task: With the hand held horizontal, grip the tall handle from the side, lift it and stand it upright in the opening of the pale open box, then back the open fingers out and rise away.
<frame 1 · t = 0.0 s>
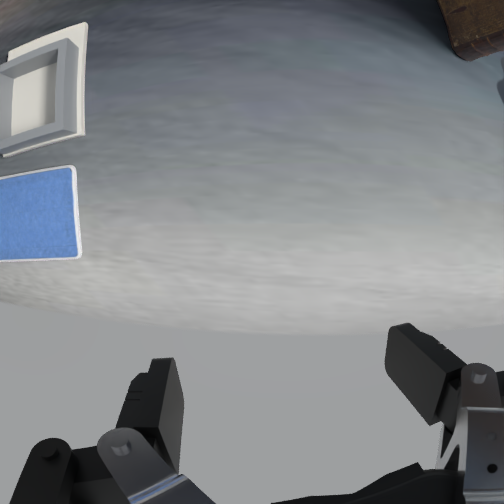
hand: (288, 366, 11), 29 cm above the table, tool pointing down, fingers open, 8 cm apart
book: (450, 20, 34), on the table
tablet computer: (25, 216, 36), on the table
open box: (43, 89, 31), on the table
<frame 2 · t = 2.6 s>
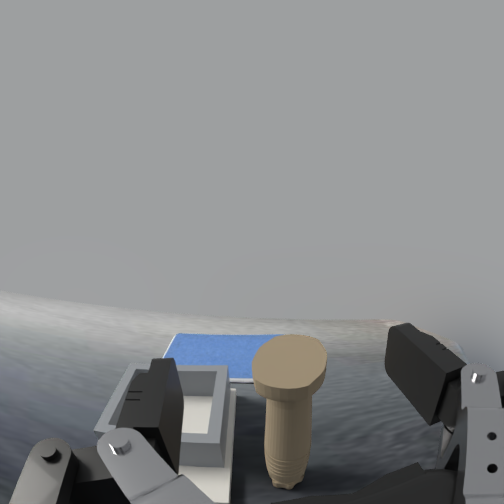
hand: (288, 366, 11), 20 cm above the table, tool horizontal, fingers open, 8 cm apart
tablet computer: (226, 361, 46), on the table
handle: (285, 479, 24), on the table
open box: (171, 441, 29), on the table
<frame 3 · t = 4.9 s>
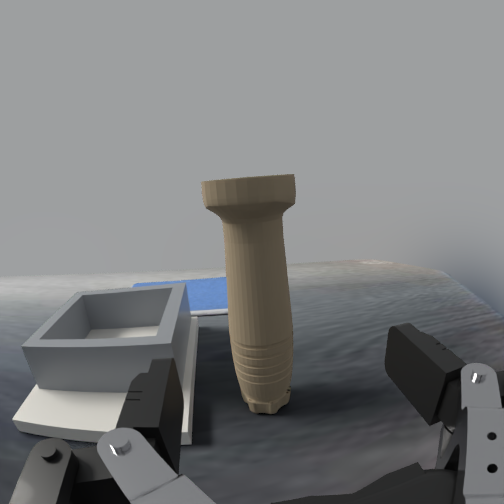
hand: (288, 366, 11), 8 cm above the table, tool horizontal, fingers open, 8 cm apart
tablet computer: (187, 303, 42), on the table
handle: (266, 404, 20), on the table
open box: (119, 374, 24), on the table
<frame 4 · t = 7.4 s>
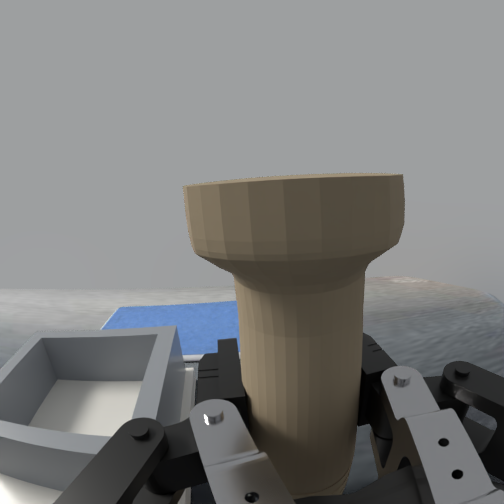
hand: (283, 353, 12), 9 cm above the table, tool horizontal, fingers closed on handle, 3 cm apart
tablet computer: (182, 337, 32), on the table
open box: (89, 454, 15), on the table
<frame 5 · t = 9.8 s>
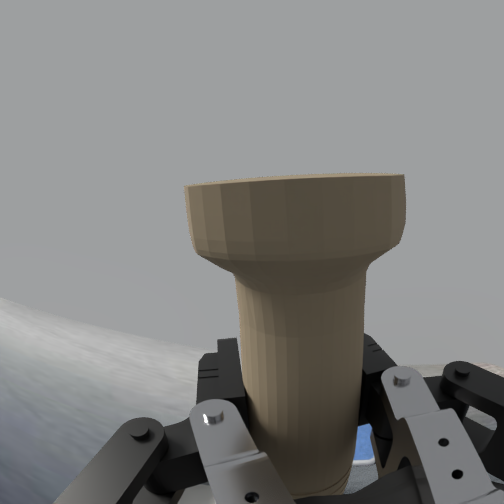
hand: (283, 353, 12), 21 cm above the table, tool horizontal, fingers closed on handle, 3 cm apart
tablet computer: (290, 428, 32), on the table
when the fingers open (11 cm above the table, at t = 12.5 s): handle stays where it is, resting on open box.
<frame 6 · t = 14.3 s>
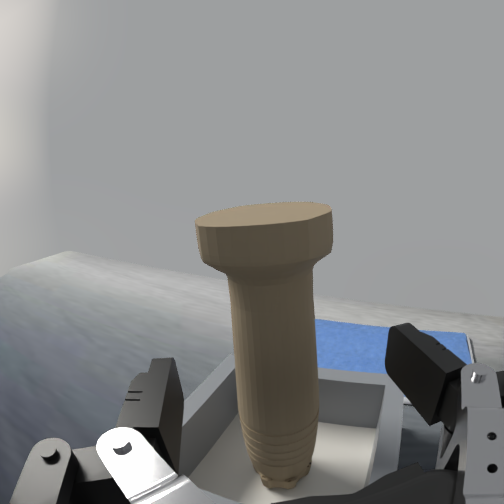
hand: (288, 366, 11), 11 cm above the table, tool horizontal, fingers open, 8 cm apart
tablet computer: (382, 367, 27), on the table
handle: (282, 474, 15), point 1 cm above the table, touching open box
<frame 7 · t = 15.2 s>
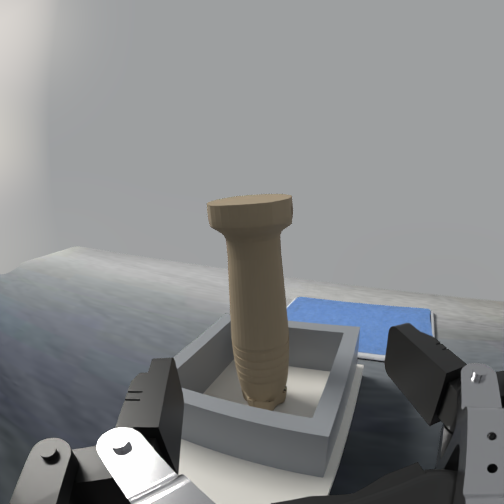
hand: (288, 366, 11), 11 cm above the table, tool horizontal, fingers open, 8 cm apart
tablet computer: (354, 334, 35), on the table
handle: (264, 402, 22), point 1 cm above the table, touching open box
open box: (255, 426, 21), on the table
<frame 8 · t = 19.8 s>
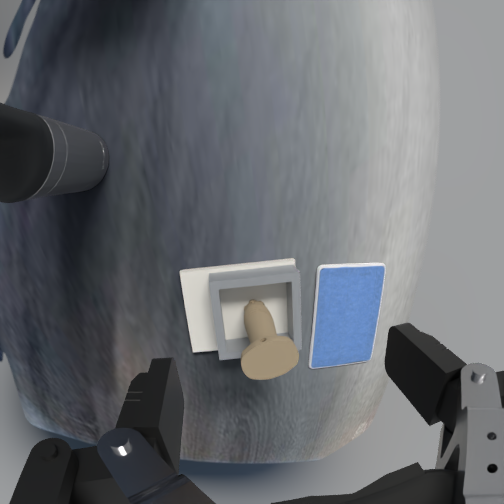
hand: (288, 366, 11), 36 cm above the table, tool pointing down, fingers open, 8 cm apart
tablet computer: (345, 316, 52), on the table
handle: (254, 307, 48), point 1 cm above the table, touching open box
open box: (241, 306, 49), on the table
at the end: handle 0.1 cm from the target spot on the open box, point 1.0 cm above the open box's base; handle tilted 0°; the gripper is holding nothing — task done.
